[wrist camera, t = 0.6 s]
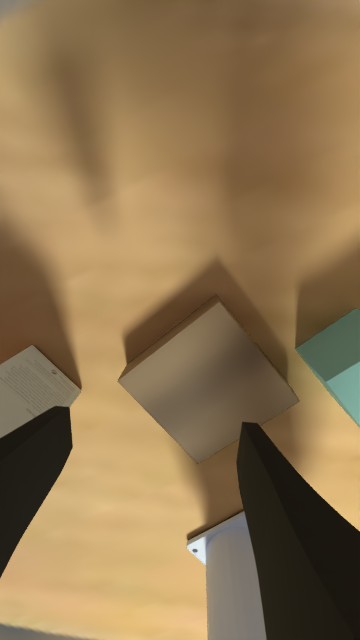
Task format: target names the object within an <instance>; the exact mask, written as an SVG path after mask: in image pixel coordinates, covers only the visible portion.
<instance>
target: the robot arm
mask: <svg viewBox="0 0 360 640" xmlns="http://www.w3.org/2000/svg"><path fill="white" fill-rule="evenodd" d="M72 447H73V446H72V433H71V420H70V408H69V407H64V406H54V407H52V408H50V409H48V410H47V411H45V412H43V413H42V414H40V415H38V416H37V417H35V418H33V419H32V420H30V421H28V422H27V423H25V424H23V425H22V426H20V427H18V428H17V429H15V430H13V431H12V432H10V433H8V434H6V435H5V436H3V437H1V438H0V578H1V576H2V574H3V572H4V570H5V568H6V566H7V564H8V562H9V560H10V558H11V556H12V554H13V552H14V550H15V548H16V546H17V544H18V543H19V541H20V539H21V537H22V536H23V534H24V532H25V530H26V529H27V527H28V526H29V524H30V522H31V521H32V519H33V517H34V516H35V514H36V513H37V511H38V509H39V508H40V506H41V504H42V503H43V501H44V500H45V498H46V496H47V495H48V493H49V491H50V490H51V488H52V486H53V485H54V483H55V482H56V480H57V478H58V477H59V475H60V473H61V471H62V469H63V467H64V465H65V463H66V461H67V459H68V456H69V454H70V452H71V450H72ZM237 472H238V481H239V489H240V494H241V499H242V503H243V508H244V511H243V512H241V513H239V514H237V515H236V516H234V517H232V518H230V519H228V520H226V521H224V522H222V523H221V524H219V525H217V526H215V527H213V528H211V529H209V530H207V531H205V532H204V533H202V534H200V535H198V536H196V537H194V538H192V539H190V540H189V541H187V549H188V550H189V551H190V552H191V553H193V554H194V555H195V556H196V557H197V558H198V559H199V560H200V561H201V562H202V563H203V564H204V565H205V566H206V592H207V630H208V640H360V531H358V530H357V529H356V528H355V527H354V526H352V525H351V524H350V523H349V522H348V521H347V520H346V519H344V518H343V517H342V516H341V515H340V514H339V513H338V512H337V511H336V510H335V509H334V508H332V507H331V506H330V505H329V504H328V503H327V502H326V501H325V500H324V499H323V498H322V497H321V496H320V495H319V494H318V493H317V492H316V491H315V490H314V489H313V488H312V487H311V486H310V485H309V484H308V483H307V482H306V481H305V480H304V479H303V478H302V476H301V475H300V474H299V473H298V472H297V471H296V470H295V469H294V468H293V466H292V465H291V464H290V463H289V462H288V461H287V459H286V458H285V457H284V456H283V455H282V453H281V452H280V451H279V450H278V448H277V447H276V446H275V445H274V443H273V442H272V441H271V440H270V438H269V437H268V436H267V435H266V433H265V432H264V431H263V429H262V428H261V427H260V426H259V424H258V423H252V422H242V426H241V433H240V441H239V448H238V455H237Z"/></svg>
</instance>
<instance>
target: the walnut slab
mask: <svg viewBox="0 0 360 640" xmlns="http://www.w3.org/2000/svg"><path fill="white" fill-rule="evenodd" d="M118 382H119V383H120V384H121V385H122V386H123V387H124V389H125V390H126V391H127V392H128V393H129V394H130V395H131V396H132V397H133V398H134V399H135V400H136V401H137V402H138V403H139V404H140V405H141V406H142V407H143V408H144V409H145V410H146V411H147V412H148V413H149V414H150V415H151V416H152V417H153V418H154V419H155V420H156V421H157V422H158V423H159V425H160V426H161V427H162V428H163V429H164V430H165V431H166V432H167V433H168V434H169V435H170V436H171V437H172V438H173V439H174V440H175V441H176V442H177V443H178V444H179V445H180V446H181V447H182V448H183V449H184V450H185V451H186V452H187V453H188V454H189V455H190V456H191V457H192V458H193V459H194V461H195V462H196V463H197V464H199V463H200V462H202V461H204V460H205V459H207V458H208V457H210V456H212V455H213V454H215V453H217V452H218V451H220V450H221V449H223V448H225V447H226V446H228V445H230V444H231V443H233V442H234V441H236V440H238V439H239V438H240V433H241V426H242V422H252V423H258V424H259V426H260V425H262V424H264V423H265V422H267V421H269V420H270V419H272V418H273V417H275V416H277V415H278V414H280V413H281V412H283V411H285V410H286V409H288V408H290V407H291V406H293V405H294V404H296V403H298V402H299V399H298V397H297V396H296V394H295V393H294V391H293V390H292V388H291V387H290V385H289V384H288V382H287V381H286V380H285V379H284V377H283V376H282V375H281V374H280V372H279V371H278V370H277V369H276V367H275V366H274V365H273V364H272V363H271V361H270V360H269V359H268V358H267V356H266V355H265V354H264V353H263V351H262V350H261V349H260V348H259V346H258V345H257V344H256V343H255V342H254V340H253V339H252V338H251V337H250V335H249V334H248V333H247V332H246V330H245V329H244V328H243V327H242V325H241V324H240V323H239V322H238V321H237V319H236V318H235V317H234V316H233V314H232V313H231V312H230V311H229V309H228V308H227V307H226V306H225V304H224V303H223V302H222V301H221V300H220V298H219V297H218V296H217V295H215V296H213V297H212V298H211V299H210V300H208V301H207V302H206V303H205V304H203V305H202V306H201V307H200V308H198V309H197V310H196V311H194V312H193V313H192V314H191V315H189V316H188V317H187V318H186V319H184V320H183V321H182V322H180V323H179V324H178V325H177V326H175V327H174V328H173V329H172V330H170V331H169V332H168V333H167V334H165V335H164V336H163V337H161V338H160V339H159V340H158V341H156V342H155V343H154V344H153V345H151V346H150V347H149V348H147V349H146V350H145V351H144V352H142V353H141V354H140V355H139V356H137V357H136V358H135V359H134V360H132V361H131V362H130V363H128V364H127V365H126V367H125V369H124V371H123V372H122V374H121V376H120V377H119V379H118Z"/></svg>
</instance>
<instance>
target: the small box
mask: <svg viewBox="0 0 360 640" xmlns="http://www.w3.org/2000/svg"><path fill="white" fill-rule="evenodd" d="M80 393H81V390H80V389H79V388H78V387H77V386H76V385H75V384H74V383H73V382H72V381H71V380H70V379H69V378H68V377H66V376H65V375H64V374H63V373H62V372H61V371H60V370H59V369H58V368H57V367H56V366H55V365H54V364H53V363H51V362H50V361H49V360H48V359H47V358H46V357H45V356H44V355H43V354H42V353H41V352H40V351H39V350H38V349H36V348H35V347H34V346H33V345H31V346H29V347H28V348H26V349H24V350H23V351H21V352H20V353H18V354H16V355H15V356H13V357H11V358H10V359H8V360H7V361H5V362H3V363H2V364H0V438H1V437H3V436H5V435H6V434H8V433H10V432H12V431H13V430H15V429H17V428H18V427H20V426H22V425H23V424H25V423H27V422H28V421H30V420H32V419H33V418H35V417H37V416H38V415H40V414H42V413H43V412H45V411H47V410H48V409H50V408H52V407H54V406H64V407H69V408H70V406H71V405H72V404H73V402H74V401H75V400H76V398H77V397H78V396H79V394H80Z"/></svg>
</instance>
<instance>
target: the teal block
mask: <svg viewBox="0 0 360 640" xmlns="http://www.w3.org/2000/svg"><path fill="white" fill-rule="evenodd" d="M296 351H297V352H298V353H299V355H300V356H301V357H302V358H303V360H304V361H305V362H306V364H307V365H308V366H309V367H310V369H311V370H312V371H313V373H314V374H315V375H316V376H317V378H318V379H319V380H320V382H321V383H322V384H323V386H324V387H325V388H326V389H327V391H328V392H329V393H330V395H331V396H332V397H333V398H334V399H335V400H336V401H337V403H338V404H339V405H340V406H341V407H342V408H343V409H344V410H345V412H346V413H347V414H348V415H349V416H350V417H351V418H352V420H353V421H354V422H355V423H356V424H357V425H358V426H359V427H360V309H357V308H355V309H354V310H352V311H351V312H349V313H348V314H346V315H345V316H343V317H342V318H340V319H339V320H337V321H336V322H334V323H333V324H331V325H330V326H328V327H327V328H325V329H324V330H322V331H321V332H319V333H318V334H316V335H315V336H314V337H312V338H311V339H309V340H308V341H306V342H305V343H303V344H302V345H300V346H299V347H297V348H296Z"/></svg>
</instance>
